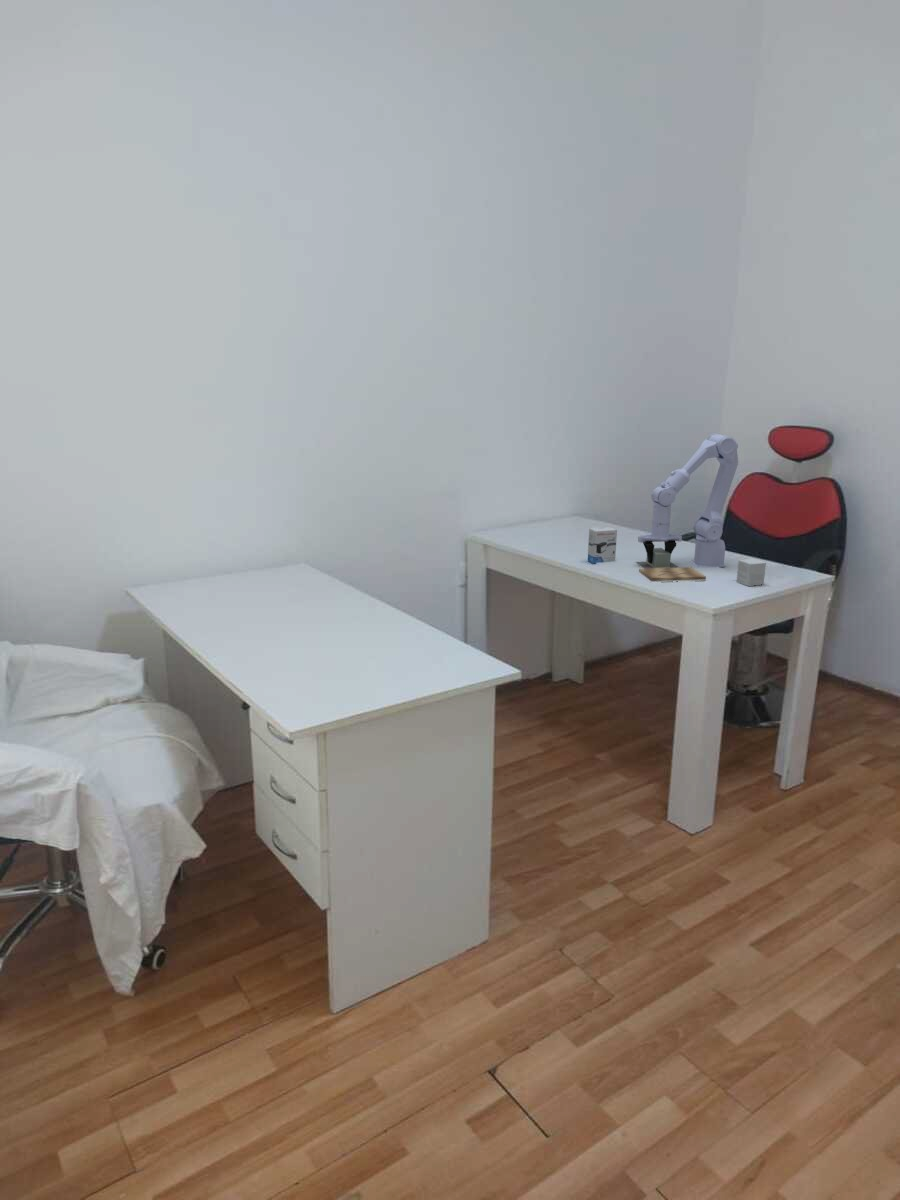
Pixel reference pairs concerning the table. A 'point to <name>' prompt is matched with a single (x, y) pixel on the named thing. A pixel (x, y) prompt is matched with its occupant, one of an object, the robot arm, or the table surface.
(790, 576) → the table surface
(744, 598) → the table surface
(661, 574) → the oak board
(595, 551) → the ink box
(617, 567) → the table surface
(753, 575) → the product box
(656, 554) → the block
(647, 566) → the rubber mat
